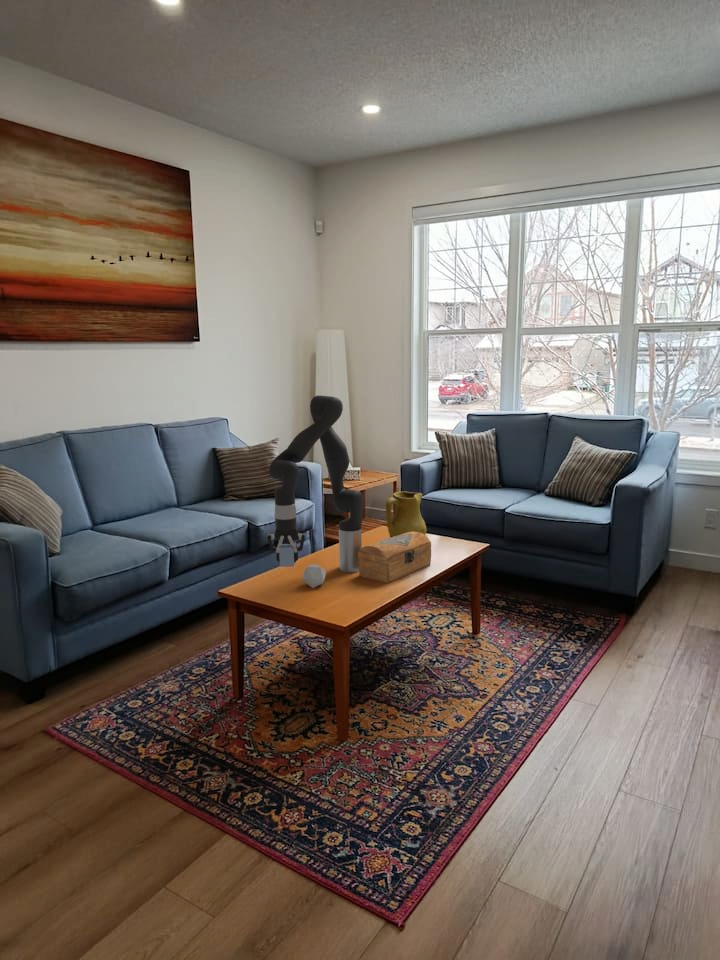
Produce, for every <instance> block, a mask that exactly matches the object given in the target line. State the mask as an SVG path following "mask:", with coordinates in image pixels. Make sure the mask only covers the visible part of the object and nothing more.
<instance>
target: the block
mask: <svg viewBox="0 0 720 960" xmlns="http://www.w3.org/2000/svg"><path fill="white" fill-rule="evenodd" d="M279 558H280V563H279V567H281V568H285V567H295V566H296V562H294V547H292V546H291V544H282V545H281V547H279Z"/></svg>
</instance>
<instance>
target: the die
mask: <svg viewBox="0 0 720 960" xmlns="http://www.w3.org/2000/svg"><path fill="white" fill-rule="evenodd" d="M326 574H327V570H325V569H324V568H323V567H321V566H320V565H319V564H317V563H316V562H315V563H311V564H310V565H307V566H306V567H305V569H304V571H303V576H302V578H301V580H302V581H303V582H304V583H305V584H307V586H309V587H311V588H312V589H315V588H317V587H319V586H321V585H323V583H324V582H325V578H326Z"/></svg>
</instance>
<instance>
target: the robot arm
mask: <svg viewBox="0 0 720 960" xmlns="http://www.w3.org/2000/svg"><path fill="white" fill-rule="evenodd" d="M343 407H344V406H343V401H342V400H341V399H340V398H338V397H336V396H330V395H314V396H313V397H312V399H311V401H310V405H309V408H310V409H309V410H310V411H309V412H310V415H311V418H312V421H313V423H312V424H311V425H308V427H306V428H305V429H303V430H302V431H300V432H299V433H298V434H297V435H296V436H295V437H294V438H293V439H292V441H291V442H290V443H289V445H288V447H287V448H286V449H285V450H283V451H282V452H281V453H279V454H278V455H277V456H276V457H275V458H274V459H273V460H272V461H271V462H270V465H269V467H268V473H269V475H270V477H271V478H272V479H274V480H279V481H283V482H282V485H281V486H278V487H276V488H275V489H274V525H275V526H274V527H275V531H274V533H268V535H266V538H267V541H268V544H269V545H268V546H269V548H270V551H271V552H274V553H276V561H277V563H279V564H280V558H279V547H281V545H282V544H291V546H292V547H294V562H295V563H297V561H298V560H299V552H302V551H303V549H304V546H305V545H304V544H305V540H306V535H307V534H306V533H305V532H302V533H300V532H299V531H298V527H297V525H298V523H297V508H296V499H295V497H296V496H295V495H296V494H295V493H296V492H295V491H296V488H297V483H298V478H299V473H300V472H299V467H298V465H297V464H298V463H302V461H304V460H305V458H306V456H307V455H308V454H309V452H311V450H312V448H313V447H314V446H315V444H316V443H317V442H318V440H319V442H320V444H321V449H322V453H323V458H324V461H325V465H326V469H327V473H328V476H329V479H330V480H329V481H330V485H331V492H332V498H333V499H332V500H333V505H334V508H335V509H336V510H337V511H338V512H343V513H349V518H346V519H343V520H340V521H339V522H338V551H339V553H338V556H339V557H338V558H339V560H338V561H339V562H338V563H339V565H338V566H339V570H340V572H343V573H357V572H358V573H359V558H358V552H359V551H360V550H361V549H362V548H363V546H362V541H363V538H362V524H363V512H364V510H363V509H364V498H363V497H364V496H363V493H362V492H361V491H360V490H356V489H355V490H354V489H346V488H345V485H344V477H345V476H346V473H347V471H348V468H349V466H350V456H349V453H348V449H347V445H346V443H344V441H343V440H342V438H341V437H340V436H339V435H338V434H337V432H336V431H335V429H334V427H333V425H334V424H335V423H336V422H338V420H339V419H340V418H341V416H342V414H343V410H344V409H343ZM297 537H298V539H299V540H300V542H299V543H300V544H299V546H298V545H297V542H296V539H297ZM275 539H276V540H277V541H278V544H277V546H275V542H274V540H275Z"/></svg>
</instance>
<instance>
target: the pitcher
mask: <svg viewBox="0 0 720 960" xmlns="http://www.w3.org/2000/svg"><path fill="white" fill-rule="evenodd" d="M423 496H424V494H423V493H421V492H412V491H406V490H404V491H395V492H394V493H393V497H389V498H387V500H386V502H385V517H386V518H385V519H386V523H387V524H386V527H387V530H388V531H387V532H388V533H389V534H388V535H389V538H391V537H394V536H398V535H401V534H404V533H407V532H419V533H422V534H424V535H426V533H427V525H426V522H425V520H424V518H423V517H422V513H421V502H422V497H423ZM393 504H395V509H394V514H393V516H392V509H393Z"/></svg>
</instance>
